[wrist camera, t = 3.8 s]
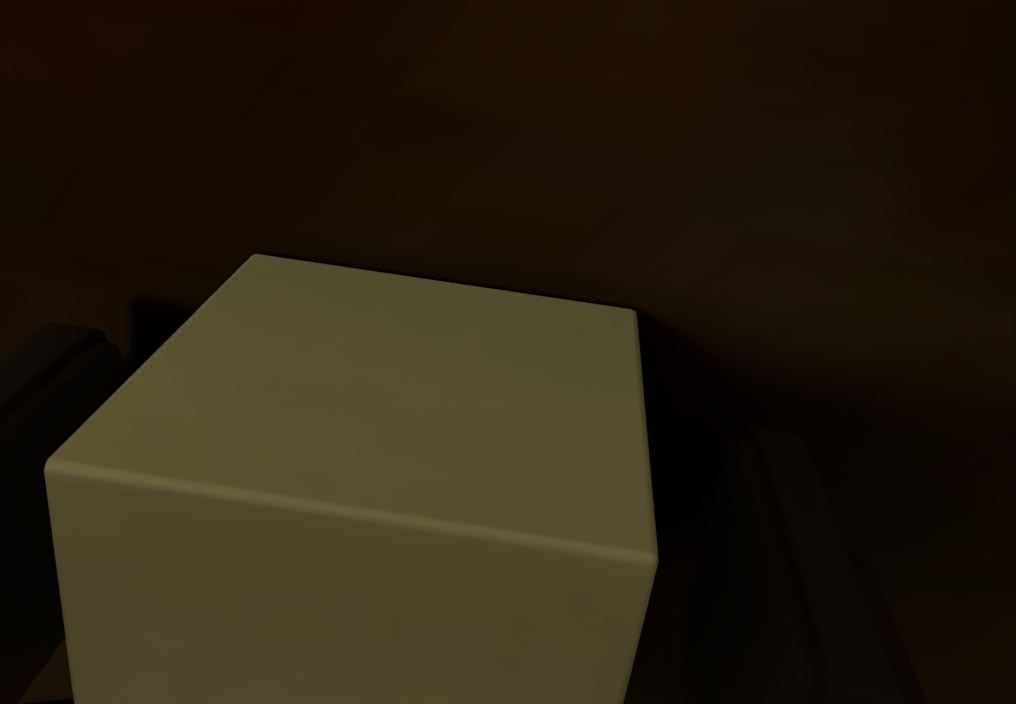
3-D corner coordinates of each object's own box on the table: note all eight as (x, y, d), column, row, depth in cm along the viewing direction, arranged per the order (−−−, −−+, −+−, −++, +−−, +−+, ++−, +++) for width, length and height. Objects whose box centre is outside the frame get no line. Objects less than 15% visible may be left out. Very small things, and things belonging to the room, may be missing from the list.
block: (252, 250, 11) (36, 462, 7) (638, 307, 11) (661, 559, 7) (254, 556, 13) (91, 862, 9) (577, 606, 13) (566, 942, 9)
